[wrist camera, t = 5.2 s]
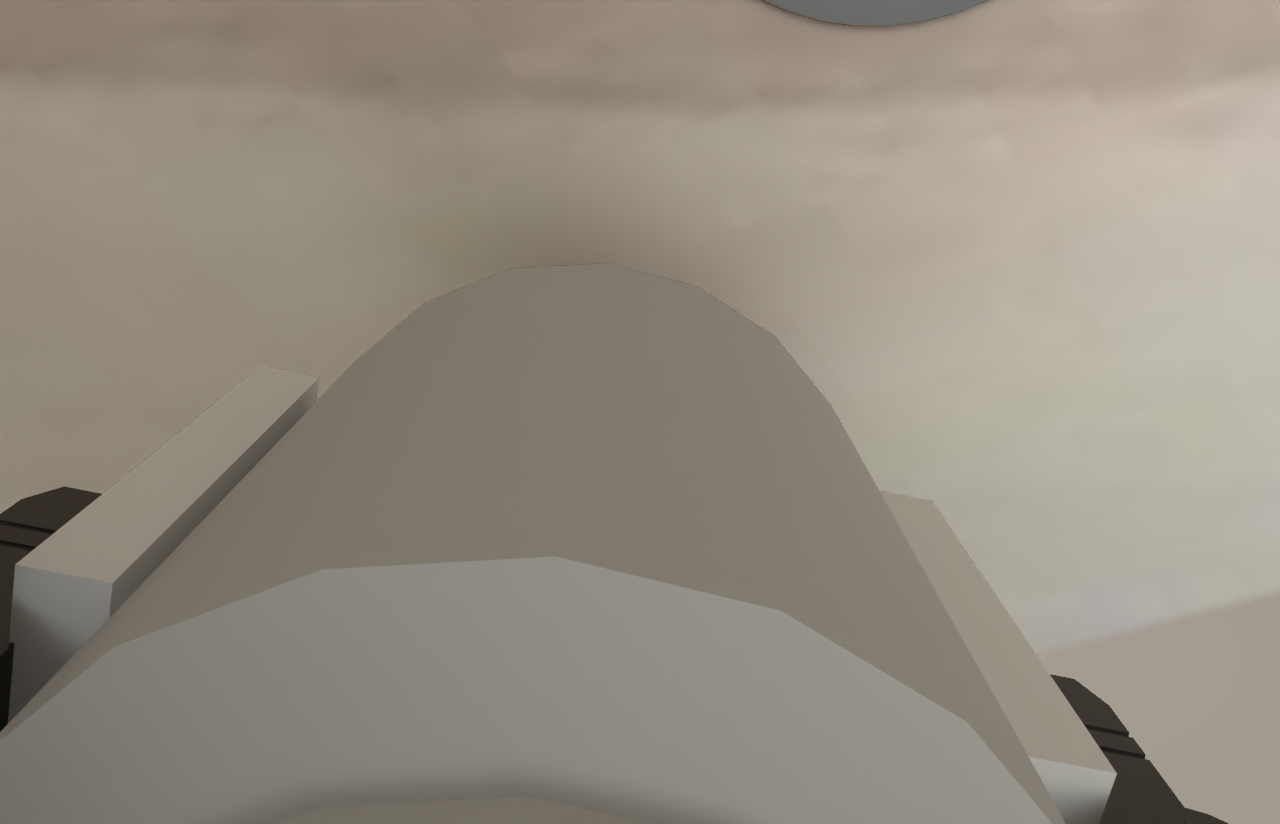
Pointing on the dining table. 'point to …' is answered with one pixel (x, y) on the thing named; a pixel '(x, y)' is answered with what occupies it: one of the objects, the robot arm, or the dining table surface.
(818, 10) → the saucer
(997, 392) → the dining table surface
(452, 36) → the dining table surface
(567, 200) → the dining table surface
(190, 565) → the can
